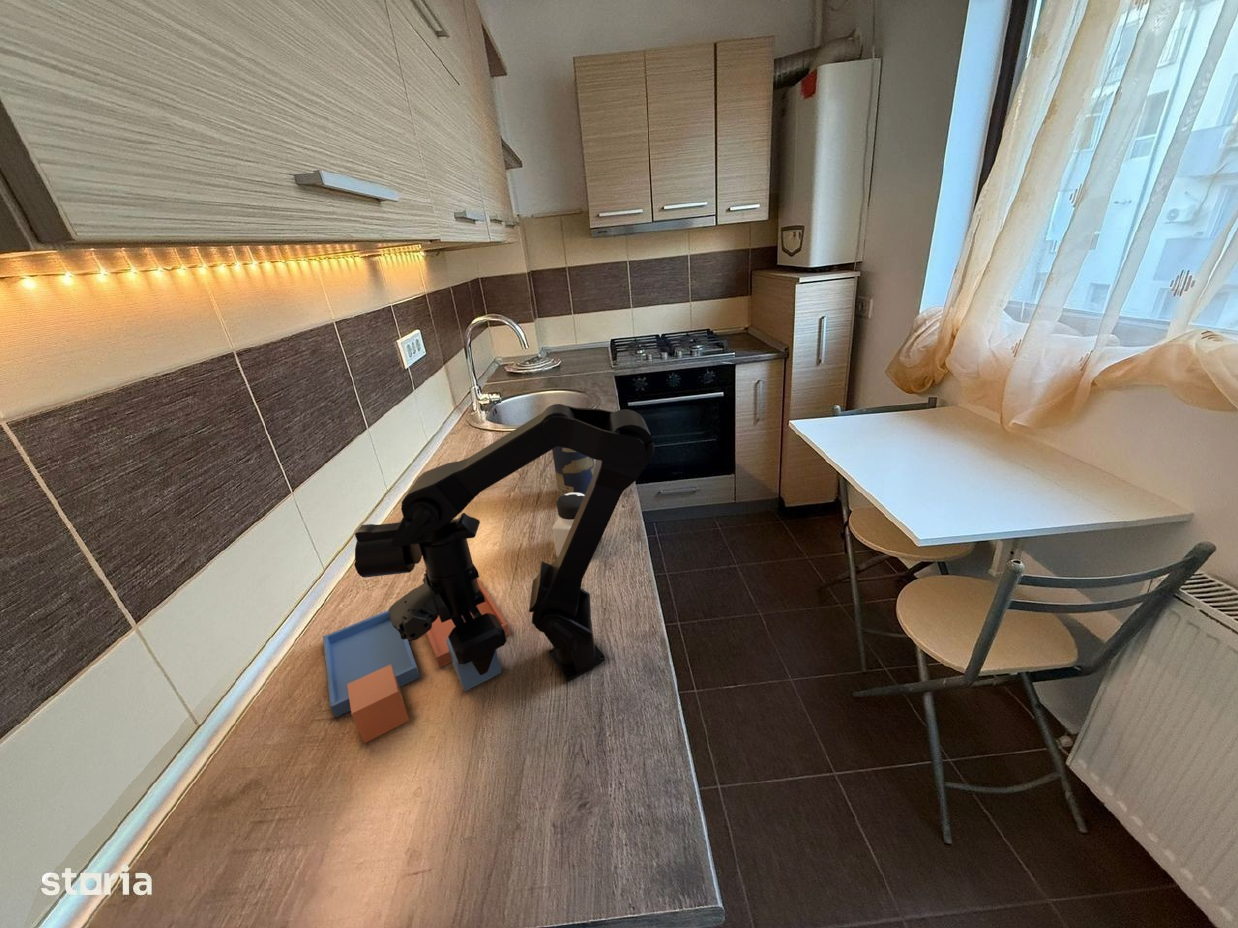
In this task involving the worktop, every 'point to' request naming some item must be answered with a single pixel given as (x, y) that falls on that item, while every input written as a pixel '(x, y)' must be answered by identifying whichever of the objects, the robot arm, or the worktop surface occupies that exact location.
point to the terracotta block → (377, 703)
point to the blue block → (473, 670)
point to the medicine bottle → (565, 517)
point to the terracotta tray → (442, 630)
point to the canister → (572, 470)
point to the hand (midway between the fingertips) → (473, 652)
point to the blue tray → (365, 657)
